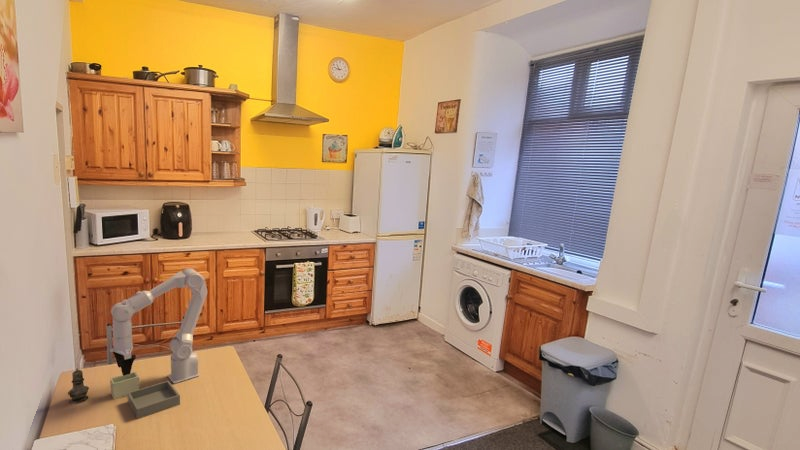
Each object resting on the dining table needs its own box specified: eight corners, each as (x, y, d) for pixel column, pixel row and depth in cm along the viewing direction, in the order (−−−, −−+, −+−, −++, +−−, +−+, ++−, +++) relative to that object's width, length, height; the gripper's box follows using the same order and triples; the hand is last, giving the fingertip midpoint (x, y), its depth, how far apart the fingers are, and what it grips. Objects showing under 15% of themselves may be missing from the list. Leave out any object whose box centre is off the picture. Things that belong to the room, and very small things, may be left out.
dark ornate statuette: (77, 405, 141) (75, 373, 139) (64, 402, 142) (61, 371, 141) (93, 396, 147) (91, 365, 145) (80, 393, 148) (78, 363, 146)
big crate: (168, 389, 154) (168, 380, 153) (180, 404, 145) (179, 395, 144) (128, 401, 145) (127, 392, 144) (137, 419, 135) (136, 409, 135)
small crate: (136, 386, 155) (135, 371, 154) (139, 391, 151) (138, 376, 150) (110, 393, 149) (110, 378, 148) (113, 399, 146) (113, 383, 145)
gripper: (105, 331, 149) (107, 366, 151) (113, 345, 139) (115, 381, 141) (127, 327, 154) (129, 360, 156) (137, 339, 144) (138, 375, 146)
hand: (124, 370), depth 149 cm, fingers open, 7 cm apart
